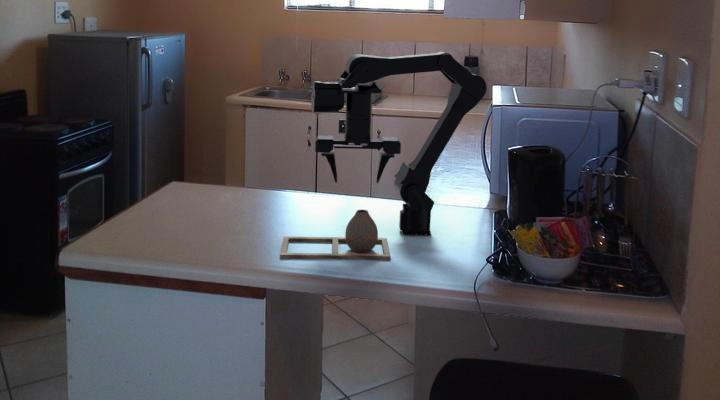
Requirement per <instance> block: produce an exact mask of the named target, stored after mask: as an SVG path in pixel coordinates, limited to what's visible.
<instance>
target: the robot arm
mask: <svg viewBox="0 0 720 400" xmlns="http://www.w3.org/2000/svg"><path fill="white" fill-rule="evenodd" d="M430 72H440V73H441V74H442V75H443V76H444V77H445V78H446V79H447V80H448V81H449V82H450V83H451V88H450V90H449V93H448V99H447V103H446V107H445V109H443V112H442V113H441V115H440V117H439V118H438V120H437V121H436V123H435V125H434V126H433V129H431V131H430V133H429V135H428V136H427V138H426V140H425V142H424V143H423V145H422V146H421V148H420V150H419V152H418V153H417V154H416V156H415V158H414V159H413V160H412V161H411V162H410V163H408V164H407V163H406V162H405V161H403V162H402V163H401V165H400V167H399V170H398V172H397V173H396V174H394V175H393V177H394V178H395V179H394V183H393V187H394V191H395V192H396V194H398V196H399V197H400V198H401V200H402V201H403V203H402V209H401V210H400V211H399V222H398V224H399V226H398V227H399V230H400V231H401V234H402V235H403V236H432V232H431V219H432V217H431V216H432V211H433V210H432V209H433V207H434V205H435V201H434V200H433V199H432V198H431V197H430V196H429V195H428V194H427V193H426V192H427V189H428V187H429V184H430V178H431V175H432V170H433V168H434V166H435V165H436V163H437V162H438V160H439V158H440V157H441V155H442V154H443V151H444V150H445V148H446V146H447V145H448V144H449V142H450V140H451V138H452V137H453V135H454V133H455V132H456V130H457V128H458V127H459V125H460V123H461V121H463V119H464V117H465V116H466V115H467V114H468V113H470V111H472V110H473V109H475V107H476V106H477V105H478V104H479V103H480V102H481V100H482V99H483V98H484V97H485V96H486V94H487V91H488V86H487V83H486V81H485V79H484V77H482V76H481V75H478V74H476V73H472V72H471V71H470V70H468V69H467V68H465V66H463V65H462V64H461V63H459V62H458V61H457V60H456V59H455V58H454V56H453V55H452V54H450V53H448V52H445V51H437V52H434V53H433V52H432V53H422V54H409V55H400V56H399V55H397V56H379V55H371V54H360V53H359V54H358V53H357V54H353V55H351V56H350V57H349V58H348V59H347V60H346V63H345V66H344V71H343V72H342V73H341V74H340V75H339V77H338V78H337V79H336V81H334V82H333V81H332V82H330V81H329V82H328V81H325V82H324V81H321V80H320V81H317V80H316V81H315V80H314V81H313V83H312V85H313V87H312V92H311V93H312V94H311V95H310V96H311V97H310V101H311V102H310V104H311V112H312V113H311V114H339V113H340V111H342V109H344V108H345V119H338V135H344V139H334V135H323V134H322V135H320V134H319V135H317V136H316V137H315V142H314V145H315V147H314V150H315V153H320V156H321V157H325V158H326V160H327V163H328V165H329V167H330V170H331V173H332V177H333V179H334V182H335V183H338V169H337V160H336V153H335V151H336V150H335V149H355V150H356V149H359V150H361V149H362V150H379V155H378V157H379V158H378V163H377V164H378V165H377V169H376V177H375V180H376V181H375V182H376V184H379V183H380V179H381V178H382V174H383V172H384V170H385V167H386V166H387V164H388V162H389V161H390V159H391V158H392V159H395V155H400V154H401V153H402V152H401V150H402V143H401V141H400V139H399V138H398V137H396V136H382V137H381V140H372V121H373V120H372V115H373V114H372V113H373V94H382V92H383V91H382V89H381V88H380V87H379V86H378V85H377V83H376V81H378V80H381V79H383V78H386V77H389V76H396V75H408V74H420V73H430ZM367 83H368V84H367Z"/></svg>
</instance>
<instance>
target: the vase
mask: <svg viewBox="0 0 720 400" xmlns="http://www.w3.org/2000/svg"><path fill="white" fill-rule="evenodd" d="M344 236H345V237H346V242H347V243H346V244H347V247H348V248H349V249H350V251H352V252H353V253H355V254H369V253H370V252H371V251H372V250H373V249H374V248H375V247H376V244H378V243H377V239H378V238H379V231H378V226H377V223H376V222H375V221H374V219H373V218H372V216H371V215H370V213H369V210H367V209H357V210H356V211H355V214H354V215H353V216H352V218H350V220H349V221H348V223H347V225H346V228H345V235H344Z"/></svg>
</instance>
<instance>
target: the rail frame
mask: <svg viewBox="0 0 720 400" xmlns="http://www.w3.org/2000/svg"><path fill="white" fill-rule="evenodd" d="M289 242H291V243H293V242H295V243H301V242H302V243H332V253H321V252H319V253H318V252H315V253H314V252H313V253H312V252H288V248H289ZM388 242H389V241H388V238H387V237H378V239H377V243H376V244H381V247H382V252H383V254H382V253H339V243H345V244H347V242H346V237H344V236H342V237H341V236H340V237H339V236H335V237H333V236H283V237H282V242H281V248H280V253H279V259H294V260H295V259H296V260H297V259H301V260H302V259H303V260H305V259H306V260H309V259H310V260H359V261H360V260H361V261H362V260H365V261H366V260H367V261H374V260H375V261H391V260H392V259H391V251H390V247H389V243H388Z"/></svg>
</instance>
